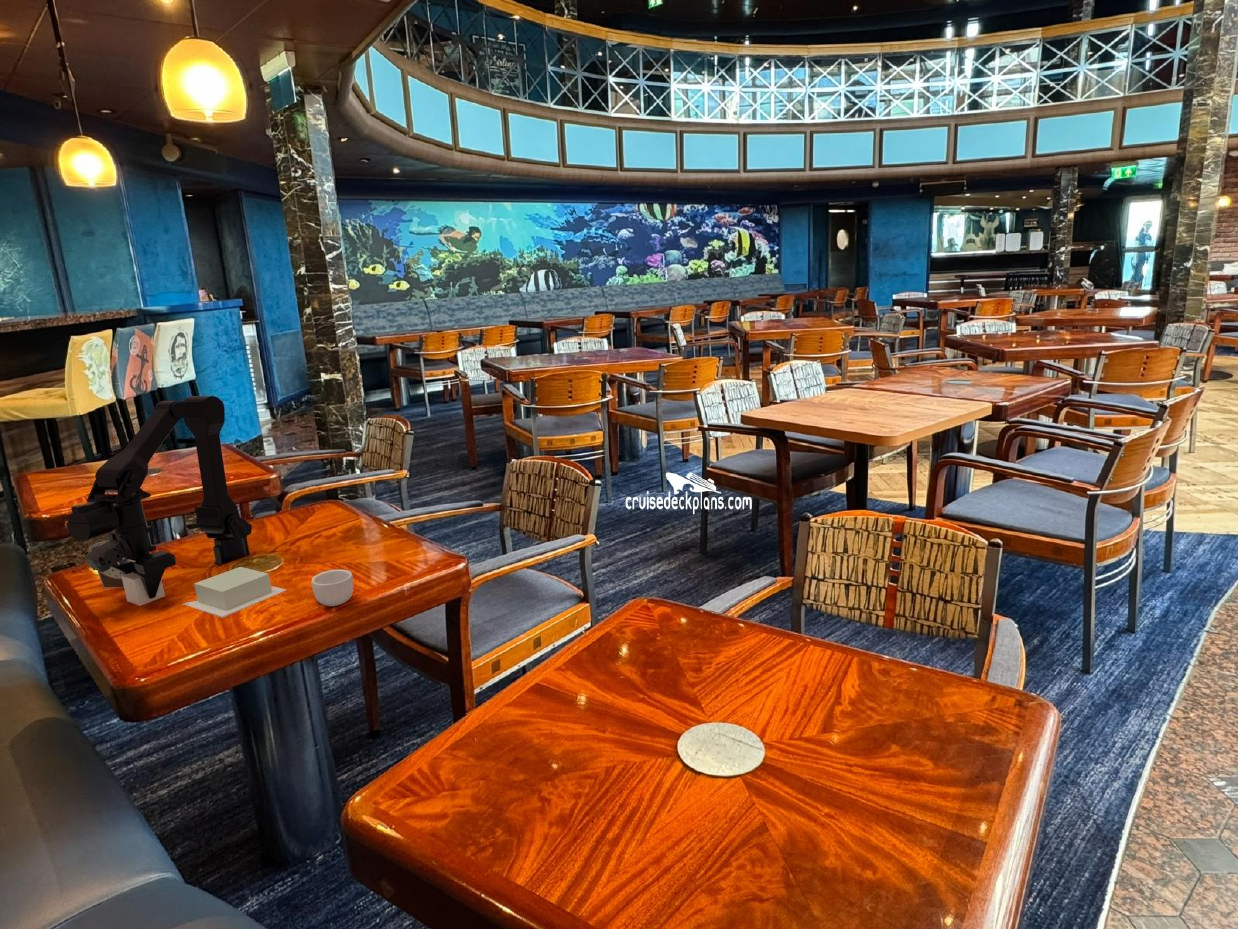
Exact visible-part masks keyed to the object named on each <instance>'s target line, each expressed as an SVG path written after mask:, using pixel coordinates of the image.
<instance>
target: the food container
mask: <svg viewBox="0 0 1238 929" xmlns="http://www.w3.org/2000/svg"><path fill="white" fill-rule="evenodd" d="M108 541H110V540H109V539H108V540H107V539H106V540H103V541H100V542H97V543H94V544H91V545H89V548H88V553H90V552H91V551H93V550H94V549H96V548H97V547H99V546H100V545H102V544H104V543H106V542H108ZM97 574H98V576H99V579H100V582H101V585H102V588H106V589H107V588H108V589H111V588H112V589H113V588H115V589H116V588H117V589H121V588H124V585H123V581H122V576H123V573H122V572H121V571H119V570H117V569H115V568H112V567H110V569H108V570H107V571H105V572H99V571H97Z"/></svg>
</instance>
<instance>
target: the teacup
mask: <svg viewBox="0 0 1238 929" xmlns="http://www.w3.org/2000/svg"><path fill="white" fill-rule="evenodd" d="M311 587H312V591H313V594H314V597H315V599H316V600H317V602H318V603H319V604H321V605H323V606H326V607H337V606H340V605H342V604H345V603H346V602H347V601H349V600H350V598H352V595H353V592H354V575H353V573H352V572H351V571H350V570H347V569H331V570H326V571H323V572H321V573H317V574H316V575H314V576H313V577H312V579H311Z"/></svg>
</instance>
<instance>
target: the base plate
mask: <svg viewBox="0 0 1238 929" xmlns="http://www.w3.org/2000/svg"><path fill="white" fill-rule="evenodd" d="M271 589H272V592H270V593H268V594H265V595H263V596H261V597H258V598H256V599H253V600H251V601H248V602H246V603H244V604H241V605H239V606H236V607H234V608H231V609H229V610H227V611H226V610H223V609H219V608H216V607H213V606H210V605H206V604H203V603H200V602H198V600H193V601H189V602H184V603H183V605H185V606H187V607H189V608H193V609H196V610H199V611H202V612H204V613H208V614H210V615H213V616H215V617H219V618H222V619H224V618H225V617H228V616H230V615H233V614H236V613H237V612H240V611H242V610H244V609H247V608H249V607H250V606H253V605H256V604H259V603H260V602H262V601H265V600H267V599H270V598H272V597H274V596H276V595H279V594H282V593H284V592H286V591H287V589H286V588H282V587H277V586H273V585H272V586H271Z"/></svg>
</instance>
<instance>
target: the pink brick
mask: <svg viewBox="0 0 1238 929" xmlns="http://www.w3.org/2000/svg"><path fill="white" fill-rule="evenodd" d="M122 581H123V585H124V594H125V597H126V601H127V602H129V603H130V604H131V603H132V604H134V605H137V606H140V607H141V606H143V605H146V604H149V603H151V602H153V601H157V600H159V599H162V598H164V597H166V594H165V590H164V585H163V581H162V579H161V581H160V585H159V588H158V591H157V594H156V597H155V598H152V599H150V598H149V597H148V595H147V593H146V590H145V588H144V585H143V582H142V580H141V577H139V576H137V575H135V574H133V573H129V574H126V575H123V576H122Z"/></svg>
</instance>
